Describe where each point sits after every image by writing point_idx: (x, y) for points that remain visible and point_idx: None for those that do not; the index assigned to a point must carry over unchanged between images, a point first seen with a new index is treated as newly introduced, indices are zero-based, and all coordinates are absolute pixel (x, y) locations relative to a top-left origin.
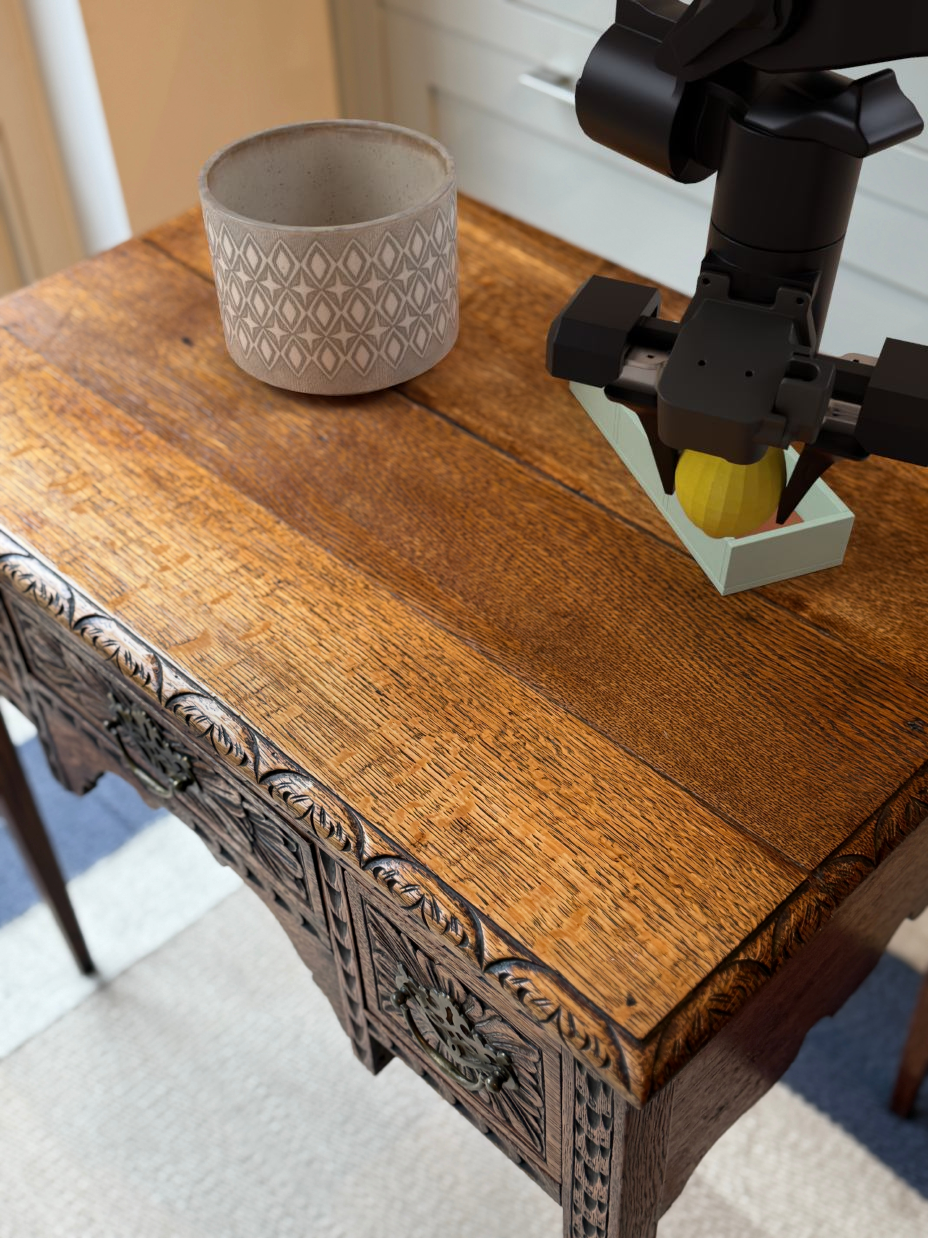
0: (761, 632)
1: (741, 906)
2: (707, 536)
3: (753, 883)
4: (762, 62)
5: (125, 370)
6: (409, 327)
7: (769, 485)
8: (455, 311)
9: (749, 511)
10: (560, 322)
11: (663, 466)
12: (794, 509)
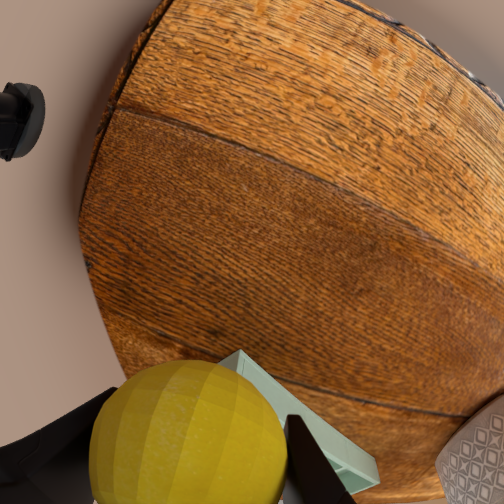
0: (201, 322)
1: (152, 59)
2: (261, 392)
3: (147, 79)
4: None
5: None
6: (476, 451)
7: (92, 440)
8: (443, 469)
9: (119, 395)
10: None
11: (312, 459)
12: (83, 404)
